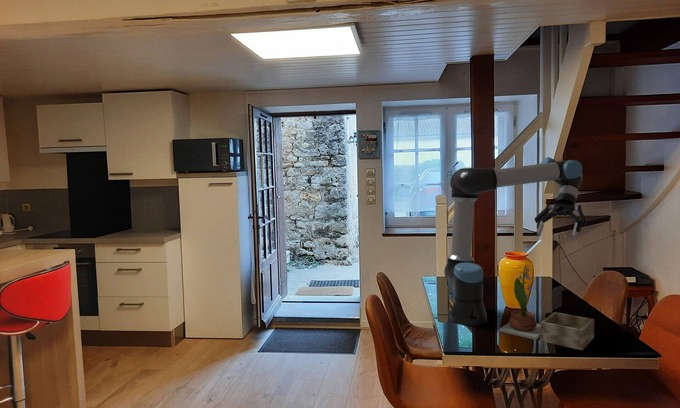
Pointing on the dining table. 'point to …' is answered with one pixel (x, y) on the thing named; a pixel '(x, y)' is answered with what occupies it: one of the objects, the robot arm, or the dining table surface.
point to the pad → (522, 331)
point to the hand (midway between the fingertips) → (555, 236)
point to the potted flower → (522, 306)
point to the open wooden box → (567, 330)
